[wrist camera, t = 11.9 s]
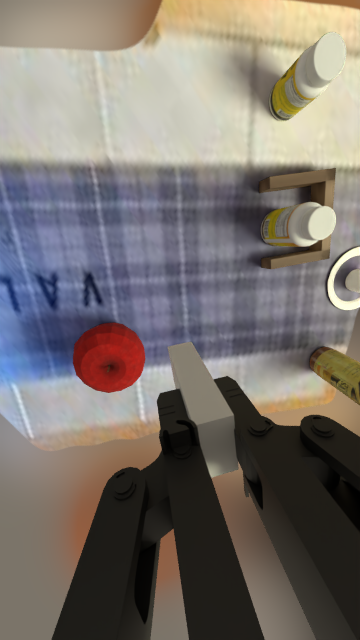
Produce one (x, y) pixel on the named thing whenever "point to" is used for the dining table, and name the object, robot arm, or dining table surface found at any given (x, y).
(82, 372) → the apple
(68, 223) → the dining table surface
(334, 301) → the candle holder
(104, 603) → the robot arm
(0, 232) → the dining table surface
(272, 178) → the pocket
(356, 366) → the sauce bottle
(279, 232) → the supplement bottle
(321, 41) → the supplement bottle
